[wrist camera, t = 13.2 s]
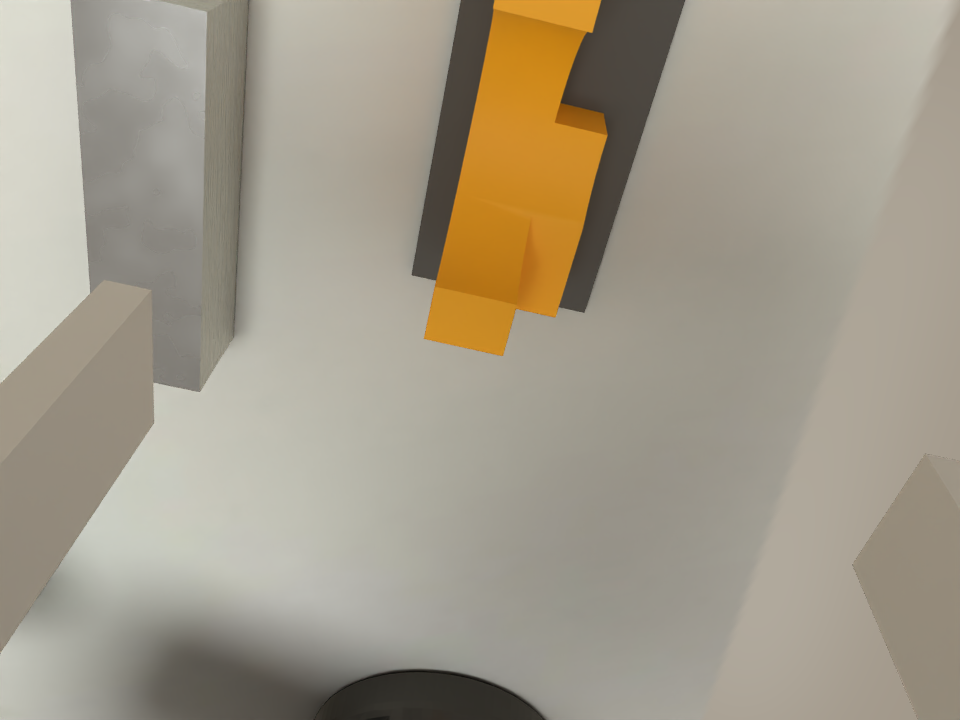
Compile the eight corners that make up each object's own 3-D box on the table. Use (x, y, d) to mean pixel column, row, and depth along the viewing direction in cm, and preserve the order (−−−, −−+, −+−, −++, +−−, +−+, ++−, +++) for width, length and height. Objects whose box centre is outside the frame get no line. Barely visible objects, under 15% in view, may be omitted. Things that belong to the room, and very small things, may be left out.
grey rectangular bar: (233, 337, 35) (199, 391, 31) (139, 317, 35) (95, 370, 31) (248, -11, 27) (206, 12, 24) (128, -39, 27) (69, -21, 24)
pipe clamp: (554, 275, 32) (555, 367, 26) (445, 251, 31) (423, 338, 26) (656, -63, 25) (685, -33, 20) (519, -98, 25) (510, -77, 20)
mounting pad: (583, 307, 33) (584, 312, 32) (413, 270, 32) (411, 275, 32) (707, -78, 25) (709, -77, 25) (485, -133, 25) (485, -132, 24)
